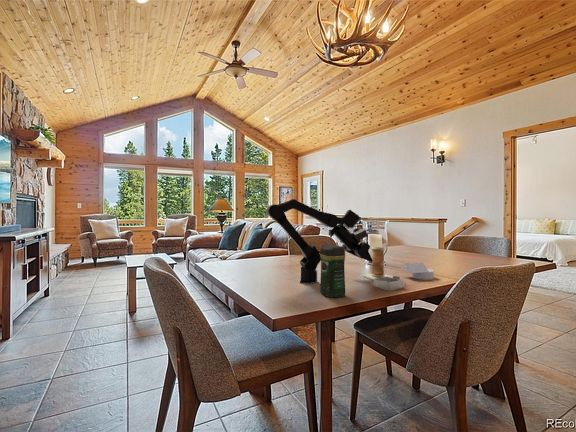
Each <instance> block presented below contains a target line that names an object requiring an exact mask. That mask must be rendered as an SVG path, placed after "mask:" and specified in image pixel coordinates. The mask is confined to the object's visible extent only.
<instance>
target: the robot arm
mask: <svg viewBox="0 0 576 432" xmlns="http://www.w3.org/2000/svg"><path fill="white" fill-rule="evenodd" d="M292 210H294V211H296V212H299V213H301V214H304V215H306V216H309V217H311V218H312V219H315V220H316V221H317V222H319V223H320V224H321V225H323V226H325V227H327V228H330V229H328V236H329V237H334V236H335V237H336V238H337V239H338V240H339V242H340V243H341V244H342V245H341V247H343V248H344V249H345V253H346V252H347V253H349V254H350V255H352V256H355V257H357V258H359V259H360V260H361V259H363V260H365V261H368V262H370V263H372V261H373V260H372V256H371V253H370V252H369V250H370V249H371V245H370V244H369V243H368V242H366V241H365V242H364V241H361V240H363V239H365V238H368V236H369V235H368V232H367V230H366V229H365V228H360V229H358V228H354V227H355V226H356V225H357V224H358V223H359V222H360V221H361V217H360V216H359V214H357V213H356V212H354V211H353V210H352V209H348V210H347V211H346V212H345V213H344V215H342V217H341V216H337V215H336V214H334V213H328V212H326V211H325V212H324V211H320V210H318V209H316V208H314V207H312V206H309V205H307V204H306V203H303V202H300V201H298V200H297V199H295V198H291V199H288V201H283V202H281V203H279V204H276V203H275V204H270V205H268V207H267V209H266V214H267V216H268V217H269V218H271V219H272V220H273V221H274V222H276V223H277V224H278V225H280V227H281V228H282V229H283V230H284V231H285V233H286V234H287V236H289V237H290V239H291V240H292V241H293V243H295V245H296V246H297V247H298V248H299V250H300V252H301V254H302V256H303V257H302V258H301V260H299V263H300V266H301V267H300V281H299V283H301V284H302V283H303V284H304V283H305V284H316V282H317V281H318V270H317V269H318V265H319V264H321V258H320V251H319V250H318V248H317V247H316V246H315V245H314V244H312V243H310V244H308V242H307V241H306V240H305V239H304V238H303V237H302V235H301V234H300V232H298V230H297V229H296V228H295V227H294V226H293V225H292V224H291V222H290V221H289V220H288V218H287V216H286V213H287V212H289V211H292ZM331 228H332V229H331ZM348 229H353V230H352V231H353V233H352V232H351V231H349V230H348Z"/></svg>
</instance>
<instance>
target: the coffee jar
mask: <svg viewBox="0 0 576 432" xmlns="http://www.w3.org/2000/svg"><path fill="white" fill-rule="evenodd" d="M319 252H320V253H319V254H320V258H321V261H320V284H319V285H320V287H319V288H320V289H319V290H320V293H321V294H322V295H324V296H326V297H329V298H341V297H344V296H346V280H345V279H346V278H345V277H346V276H345V262H346V261H345V260H346V251H345V249H344V248H343V247H342V245H341V246H340V245H336V244H330V243H329V244H323V245H322V246H320V251H319Z"/></svg>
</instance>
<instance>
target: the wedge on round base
mask: <svg viewBox="0 0 576 432" xmlns="http://www.w3.org/2000/svg"><path fill="white" fill-rule="evenodd" d="M400 270H402V271H405V272H408V273H411V277H412V279H413V278H414V279H418V280H427V281H428V280H429V281H430V280H434V277H435V276H434V273H435V271H434V270H433V269H432V268H431V269H430V268H427V266H426V265H425V264H424V262H413V263H410V262H409V263H404V265H402V267H401V268H400Z"/></svg>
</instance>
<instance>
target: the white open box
mask: <svg viewBox="0 0 576 432" xmlns="http://www.w3.org/2000/svg"><path fill="white" fill-rule="evenodd" d="M392 277H393V278H392ZM392 277H387V276H386V277H381V278H376V279H374V281H373V287H375V288H378V289H382V290H385V291H389V292H391V291H396V290H400V289H404V280H403V279H400V276H398V275H393V276H392Z"/></svg>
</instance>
